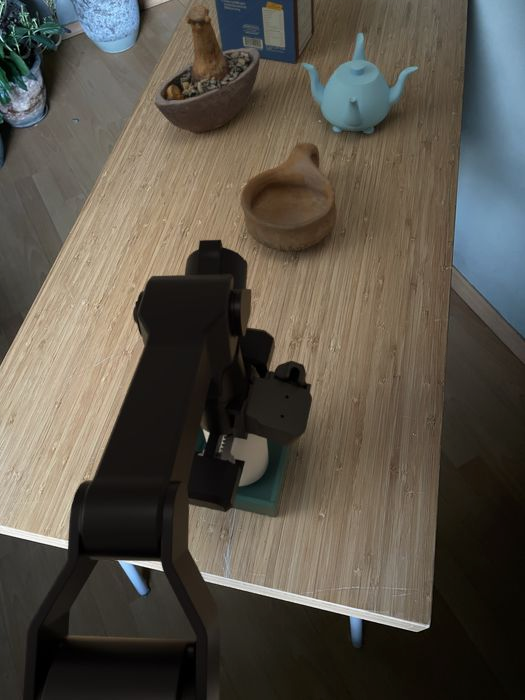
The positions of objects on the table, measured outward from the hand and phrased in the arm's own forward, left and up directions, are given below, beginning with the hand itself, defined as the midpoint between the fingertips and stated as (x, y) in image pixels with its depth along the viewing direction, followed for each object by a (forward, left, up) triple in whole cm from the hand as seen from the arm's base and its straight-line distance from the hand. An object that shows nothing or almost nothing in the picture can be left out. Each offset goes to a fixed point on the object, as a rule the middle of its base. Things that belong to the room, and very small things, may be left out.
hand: (234, 444), depth 65 cm
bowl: (+39, +2, -6) cm, 40 cm away
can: (0, 0, -5) cm, 5 cm away
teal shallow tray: (0, 0, -6) cm, 6 cm away
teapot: (+63, -4, -6) cm, 64 cm away
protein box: (+83, +16, -6) cm, 85 cm away
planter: (+60, +20, -6) cm, 64 cm away
